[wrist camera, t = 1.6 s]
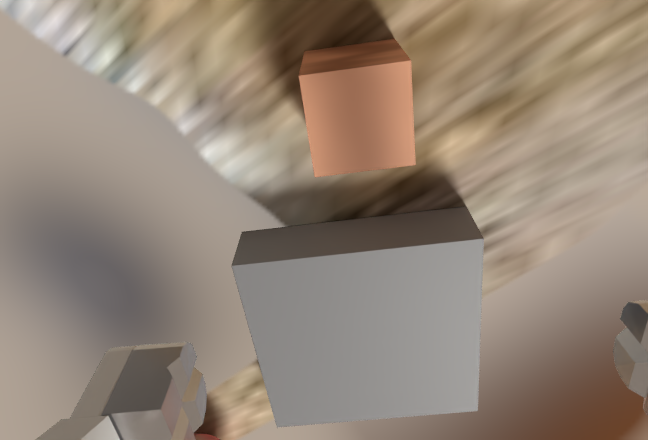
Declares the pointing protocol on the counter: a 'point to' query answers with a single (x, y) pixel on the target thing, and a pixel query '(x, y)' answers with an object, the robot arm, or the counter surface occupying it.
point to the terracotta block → (358, 107)
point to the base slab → (365, 315)
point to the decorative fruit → (205, 437)
